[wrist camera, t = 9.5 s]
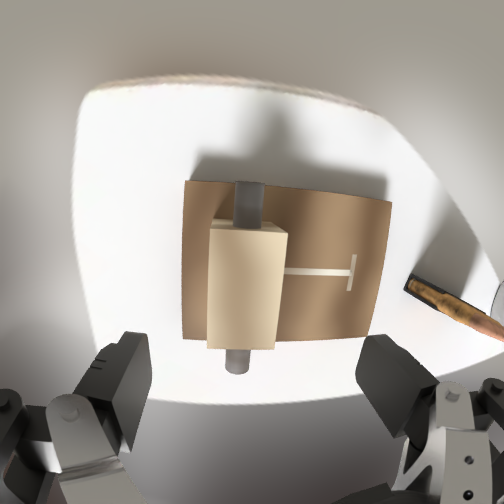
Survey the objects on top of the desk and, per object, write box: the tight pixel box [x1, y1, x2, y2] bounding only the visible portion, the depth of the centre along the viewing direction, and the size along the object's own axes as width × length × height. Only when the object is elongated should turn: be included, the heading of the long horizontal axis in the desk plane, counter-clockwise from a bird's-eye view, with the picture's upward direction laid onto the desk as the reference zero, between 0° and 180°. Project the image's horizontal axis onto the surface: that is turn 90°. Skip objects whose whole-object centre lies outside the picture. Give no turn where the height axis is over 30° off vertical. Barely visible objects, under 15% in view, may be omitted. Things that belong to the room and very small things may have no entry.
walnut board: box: [182, 181, 392, 342], centre depth 21 cm, size 16×12×2 cm
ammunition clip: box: [404, 274, 504, 342], centre depth 19 cm, size 11×2×12 cm, turn 68°
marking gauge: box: [207, 181, 288, 374], centre depth 17 cm, size 4×12×5 cm, turn 175°
